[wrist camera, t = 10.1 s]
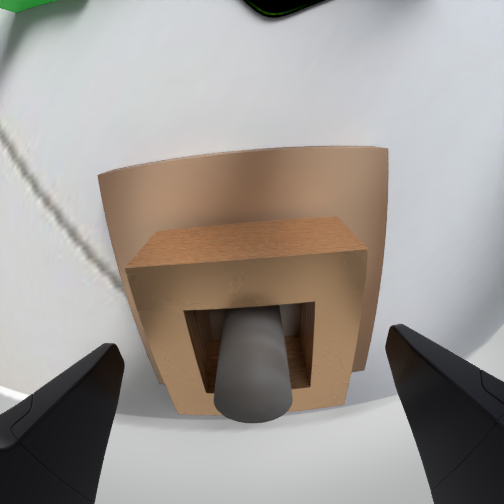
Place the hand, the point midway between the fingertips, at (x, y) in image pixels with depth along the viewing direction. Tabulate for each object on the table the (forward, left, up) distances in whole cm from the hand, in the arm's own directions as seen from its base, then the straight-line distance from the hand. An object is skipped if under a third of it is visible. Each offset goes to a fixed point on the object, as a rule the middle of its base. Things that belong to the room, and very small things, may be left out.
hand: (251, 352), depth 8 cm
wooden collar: (0, 0, -3) cm, 3 cm away
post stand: (0, 0, -5) cm, 5 cm away
